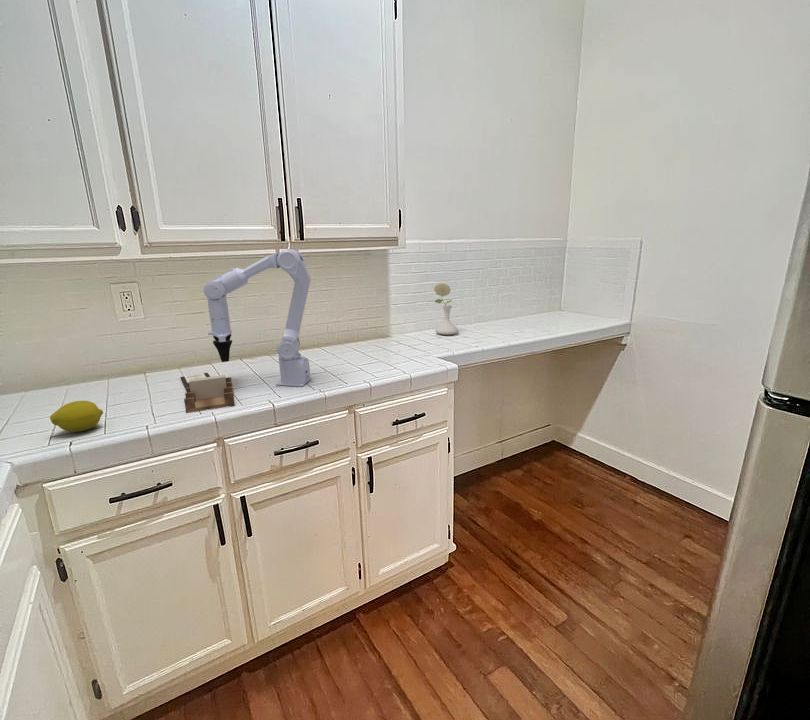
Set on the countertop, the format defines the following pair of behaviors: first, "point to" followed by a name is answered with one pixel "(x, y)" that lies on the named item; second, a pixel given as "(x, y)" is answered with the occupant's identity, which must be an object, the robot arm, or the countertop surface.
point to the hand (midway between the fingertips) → (225, 358)
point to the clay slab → (208, 387)
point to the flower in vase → (445, 311)
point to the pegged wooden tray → (209, 399)
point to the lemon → (77, 416)
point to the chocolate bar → (186, 378)
